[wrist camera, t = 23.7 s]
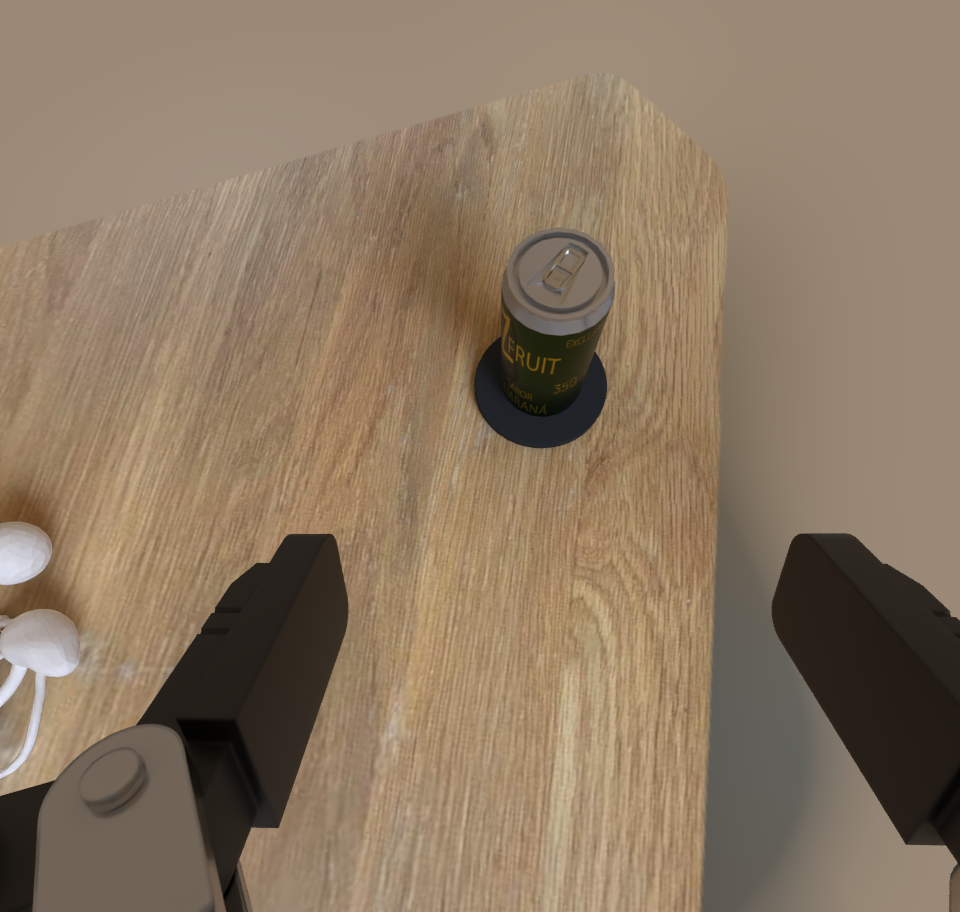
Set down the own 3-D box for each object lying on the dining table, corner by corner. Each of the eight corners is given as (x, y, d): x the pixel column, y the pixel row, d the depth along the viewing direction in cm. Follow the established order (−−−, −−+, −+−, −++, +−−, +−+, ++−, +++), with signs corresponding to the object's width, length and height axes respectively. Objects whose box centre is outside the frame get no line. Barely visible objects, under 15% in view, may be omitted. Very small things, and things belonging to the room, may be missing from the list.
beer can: (529, 335, 36) (542, 206, 24) (595, 374, 35) (641, 257, 23) (485, 394, 35) (478, 286, 23) (553, 436, 34) (579, 345, 22)
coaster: (601, 327, 37) (602, 323, 36) (609, 447, 34) (611, 444, 33) (475, 330, 37) (474, 325, 36) (474, 448, 34) (474, 446, 34)
